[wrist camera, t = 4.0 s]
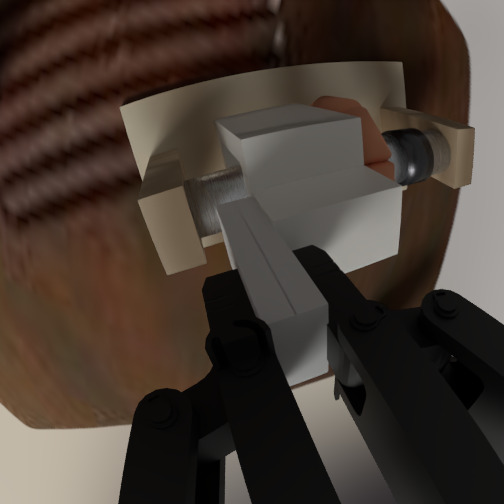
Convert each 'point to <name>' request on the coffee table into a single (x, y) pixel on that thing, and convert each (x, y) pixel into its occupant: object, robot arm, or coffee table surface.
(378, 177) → the sleeve
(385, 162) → the o ring
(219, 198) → the pipe
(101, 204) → the coffee table surface
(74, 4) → the coffee table surface
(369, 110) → the linear slide rail
